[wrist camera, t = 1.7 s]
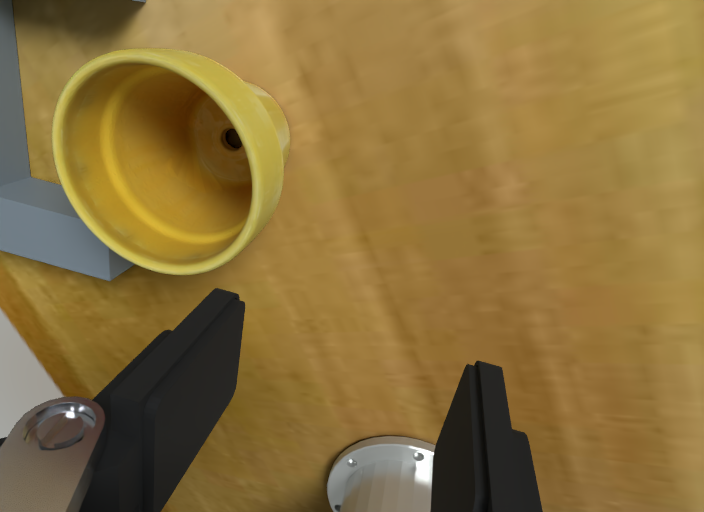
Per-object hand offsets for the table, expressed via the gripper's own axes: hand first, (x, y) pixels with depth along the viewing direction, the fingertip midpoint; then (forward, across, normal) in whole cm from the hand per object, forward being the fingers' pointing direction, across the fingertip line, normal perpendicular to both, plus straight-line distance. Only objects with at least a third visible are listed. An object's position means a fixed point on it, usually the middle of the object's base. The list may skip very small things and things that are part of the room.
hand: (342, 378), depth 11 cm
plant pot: (+20, +11, 0) cm, 23 cm away
